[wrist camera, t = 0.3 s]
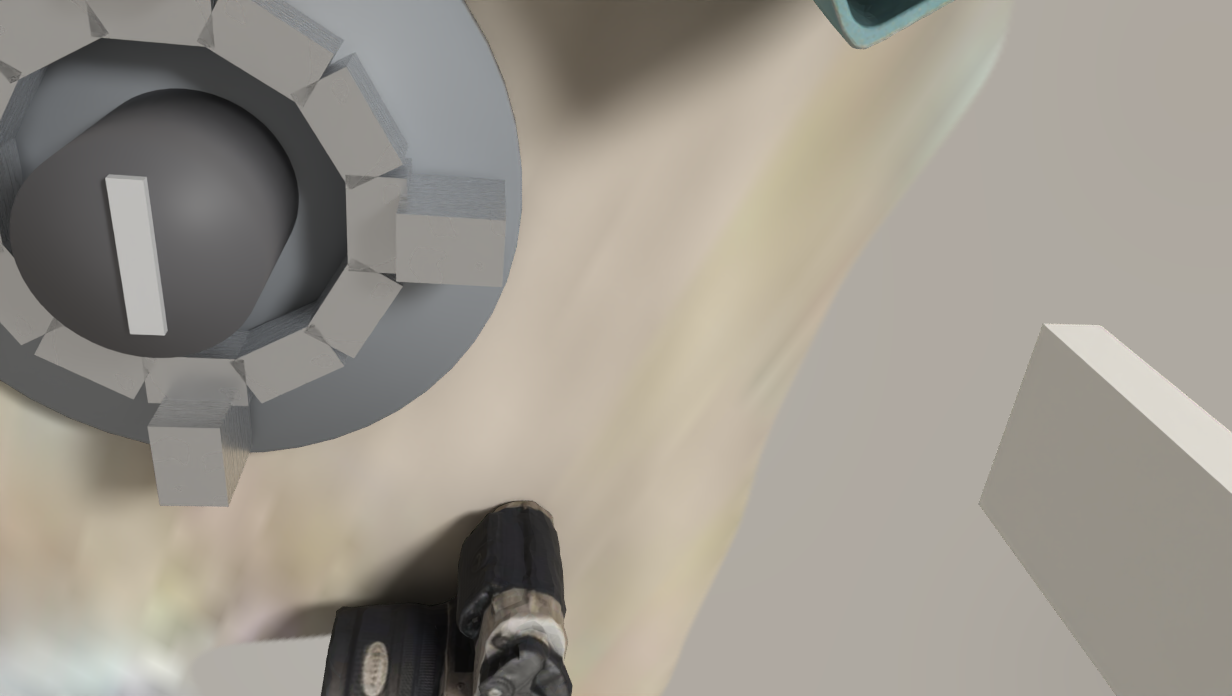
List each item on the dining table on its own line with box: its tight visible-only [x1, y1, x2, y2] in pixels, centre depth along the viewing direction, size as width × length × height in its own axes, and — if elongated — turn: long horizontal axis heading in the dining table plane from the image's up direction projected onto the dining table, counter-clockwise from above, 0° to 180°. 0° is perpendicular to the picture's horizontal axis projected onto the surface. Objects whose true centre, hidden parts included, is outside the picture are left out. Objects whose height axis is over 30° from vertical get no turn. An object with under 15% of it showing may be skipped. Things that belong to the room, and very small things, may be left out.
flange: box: [0, 0, 522, 452], centre depth 30 cm, size 23×23×8 cm
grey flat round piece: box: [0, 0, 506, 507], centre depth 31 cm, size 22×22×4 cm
